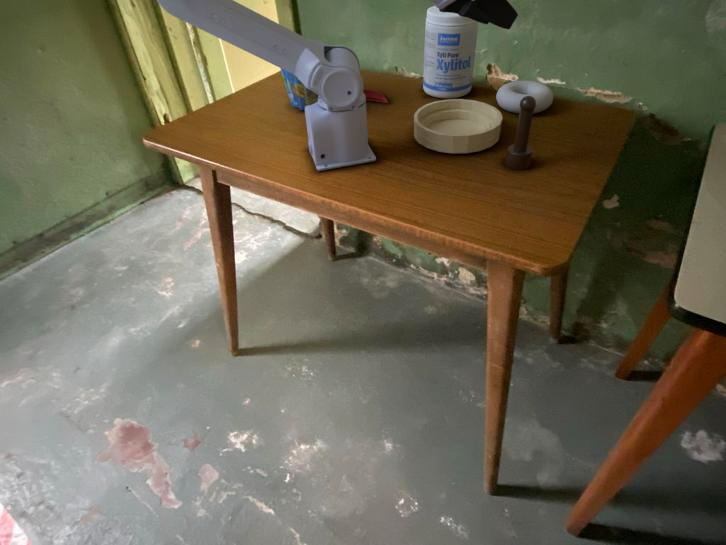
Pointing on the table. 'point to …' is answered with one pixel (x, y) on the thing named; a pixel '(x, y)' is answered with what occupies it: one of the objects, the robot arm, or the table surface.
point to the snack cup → (298, 91)
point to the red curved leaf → (374, 96)
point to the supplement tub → (448, 54)
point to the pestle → (522, 137)
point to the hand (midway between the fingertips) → (501, 19)
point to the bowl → (457, 126)
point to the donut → (524, 95)
